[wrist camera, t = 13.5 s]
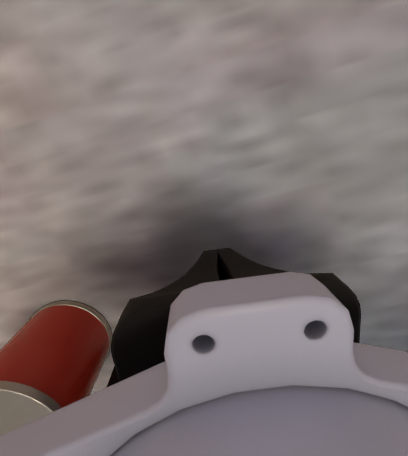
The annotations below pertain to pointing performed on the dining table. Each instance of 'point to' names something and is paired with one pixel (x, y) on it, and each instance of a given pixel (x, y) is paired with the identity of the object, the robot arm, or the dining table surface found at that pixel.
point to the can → (51, 362)
